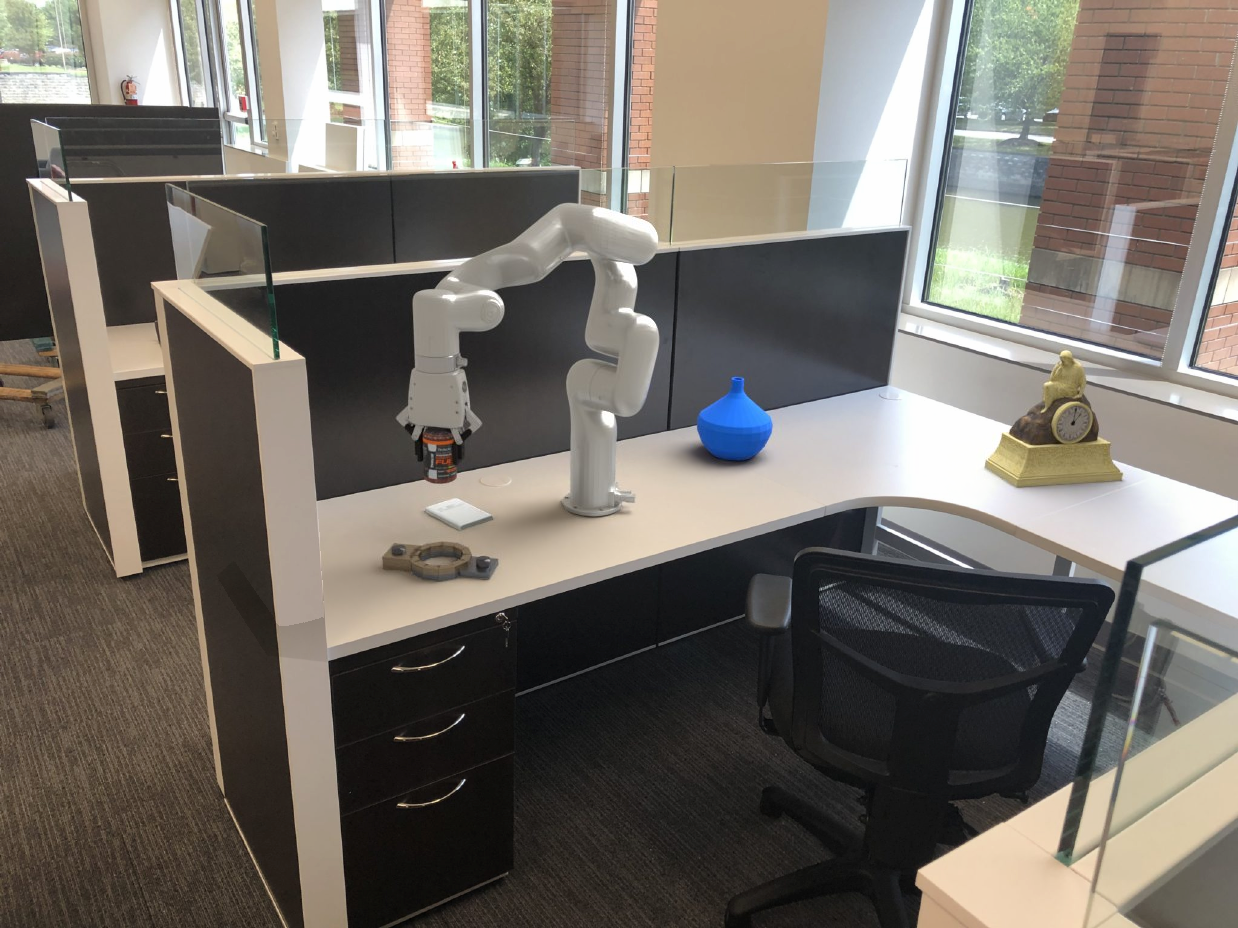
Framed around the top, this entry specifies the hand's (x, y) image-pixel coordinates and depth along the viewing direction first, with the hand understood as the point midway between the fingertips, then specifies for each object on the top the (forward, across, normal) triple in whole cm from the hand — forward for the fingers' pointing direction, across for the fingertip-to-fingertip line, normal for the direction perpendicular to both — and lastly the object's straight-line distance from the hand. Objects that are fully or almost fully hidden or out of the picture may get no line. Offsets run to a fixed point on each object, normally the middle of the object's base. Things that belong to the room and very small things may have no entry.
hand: (440, 460), depth 173 cm
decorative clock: (+19, -125, -77) cm, 148 cm away
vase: (+19, -49, -72) cm, 89 cm away
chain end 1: (+20, +2, +2) cm, 20 cm away
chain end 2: (+20, -3, +2) cm, 20 cm away
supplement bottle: (+4, 0, 0) cm, 4 cm away
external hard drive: (+21, +4, -21) cm, 30 cm away
